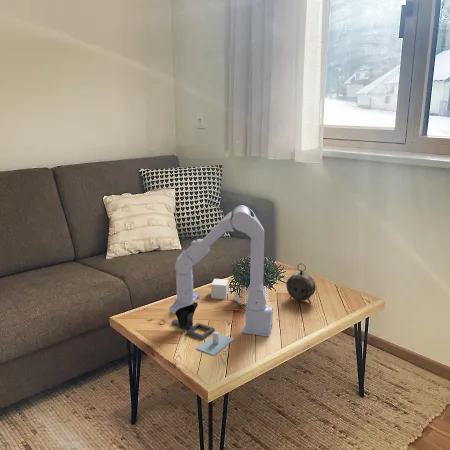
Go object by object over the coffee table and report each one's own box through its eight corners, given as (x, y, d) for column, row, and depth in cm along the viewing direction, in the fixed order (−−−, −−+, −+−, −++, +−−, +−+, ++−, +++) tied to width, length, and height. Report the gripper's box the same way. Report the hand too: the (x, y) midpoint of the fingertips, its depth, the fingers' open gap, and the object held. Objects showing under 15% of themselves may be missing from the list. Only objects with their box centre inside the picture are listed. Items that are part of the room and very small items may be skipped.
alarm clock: (315, 302, 184) (317, 264, 179) (309, 307, 179) (312, 268, 175) (289, 296, 189) (291, 258, 185) (283, 301, 185) (285, 262, 180)
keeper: (196, 349, 151) (196, 337, 149) (217, 333, 160) (217, 322, 159) (213, 355, 147) (213, 344, 146) (234, 339, 156) (234, 328, 155)
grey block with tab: (167, 327, 164) (166, 311, 163) (179, 319, 170) (179, 304, 168) (202, 340, 156) (202, 323, 154) (214, 331, 162) (214, 315, 160)
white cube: (214, 292, 193) (214, 278, 191) (228, 293, 192) (228, 279, 190) (211, 298, 187) (211, 284, 186) (225, 299, 186) (226, 285, 185)
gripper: (188, 278, 168) (189, 313, 172) (162, 292, 156) (163, 329, 160) (204, 283, 164) (204, 318, 168) (178, 298, 152) (179, 335, 156)
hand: (185, 323), depth 164 cm, fingers closed on grey block with tab, 3 cm apart
